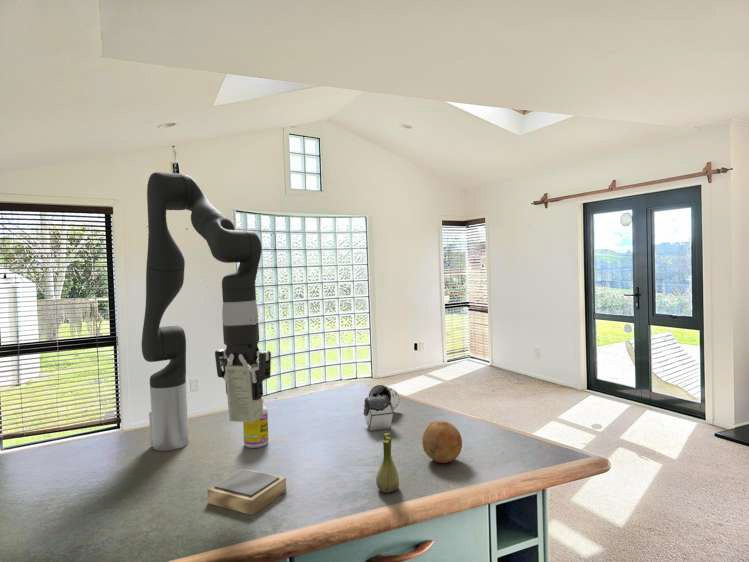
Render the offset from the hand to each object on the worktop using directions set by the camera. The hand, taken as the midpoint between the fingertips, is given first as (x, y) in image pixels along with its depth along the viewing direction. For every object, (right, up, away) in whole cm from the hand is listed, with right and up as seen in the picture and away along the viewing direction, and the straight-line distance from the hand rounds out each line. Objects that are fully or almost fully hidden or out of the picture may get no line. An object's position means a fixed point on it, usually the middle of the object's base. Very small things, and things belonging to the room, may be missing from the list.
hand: (244, 397), depth 107 cm
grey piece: (+31, -18, +47) cm, 59 cm away
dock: (+1, -21, -2) cm, 21 cm away
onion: (+45, -19, +14) cm, 51 cm away
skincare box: (0, -5, 0) cm, 5 cm away
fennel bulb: (+31, -20, 0) cm, 37 cm away
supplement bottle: (-4, -20, +29) cm, 35 cm away
